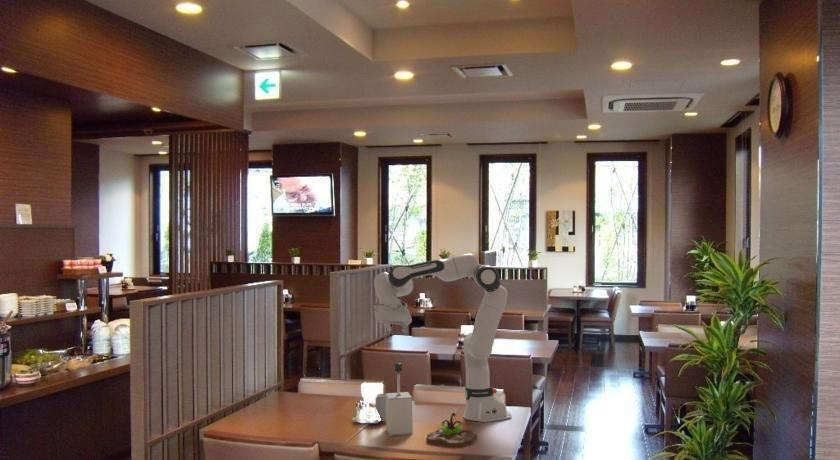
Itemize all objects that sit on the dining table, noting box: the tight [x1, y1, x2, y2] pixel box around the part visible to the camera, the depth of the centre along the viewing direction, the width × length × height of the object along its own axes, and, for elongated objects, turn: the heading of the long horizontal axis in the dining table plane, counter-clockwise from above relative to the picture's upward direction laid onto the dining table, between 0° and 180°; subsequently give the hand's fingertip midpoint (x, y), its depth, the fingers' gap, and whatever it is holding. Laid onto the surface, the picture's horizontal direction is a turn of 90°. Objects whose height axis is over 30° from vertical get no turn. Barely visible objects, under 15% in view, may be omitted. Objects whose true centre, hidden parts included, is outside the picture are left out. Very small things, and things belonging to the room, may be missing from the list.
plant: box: [425, 412, 478, 448], centre depth 288 cm, size 20×20×11 cm
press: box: [385, 391, 414, 437], centre depth 300 cm, size 10×10×16 cm
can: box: [375, 393, 386, 423], centre depth 319 cm, size 8×8×12 cm
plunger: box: [393, 362, 403, 396], centre depth 300 cm, size 8×8×21 cm
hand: (397, 331), depth 311 cm, fingers open, 8 cm apart
